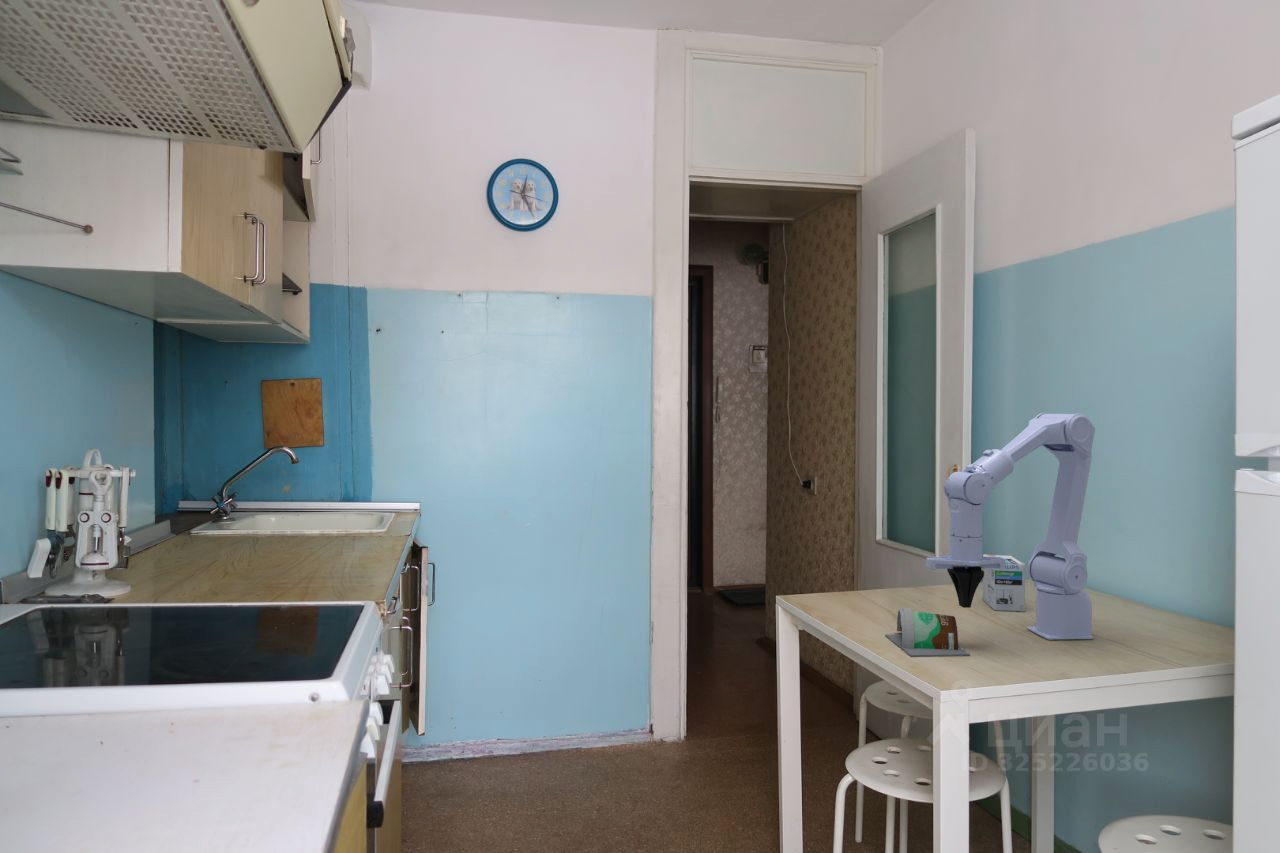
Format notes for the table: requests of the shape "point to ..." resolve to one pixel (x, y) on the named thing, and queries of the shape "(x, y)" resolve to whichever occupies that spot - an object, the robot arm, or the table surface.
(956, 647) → the food container
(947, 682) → the table surface
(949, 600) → the table surface
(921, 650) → the mat
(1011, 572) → the light bulb box
